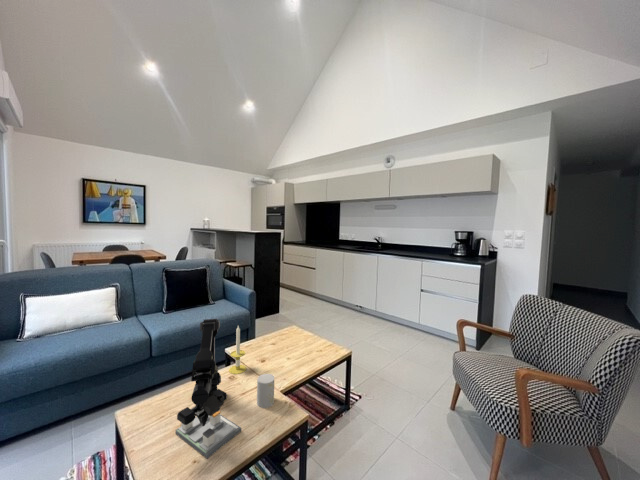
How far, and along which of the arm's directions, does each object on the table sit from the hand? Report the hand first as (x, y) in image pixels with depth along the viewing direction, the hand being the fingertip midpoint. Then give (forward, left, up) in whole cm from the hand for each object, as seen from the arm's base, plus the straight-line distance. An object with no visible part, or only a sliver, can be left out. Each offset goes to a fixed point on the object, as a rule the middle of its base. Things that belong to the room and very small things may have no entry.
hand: (203, 425), depth 108 cm
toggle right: (+7, -2, -2) cm, 8 cm away
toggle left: (-7, -2, -2) cm, 8 cm away
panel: (0, +3, -4) cm, 5 cm away
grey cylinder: (+6, +30, -5) cm, 30 cm away
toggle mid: (0, +6, -2) cm, 6 cm away
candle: (-28, +42, -5) cm, 50 cm away
